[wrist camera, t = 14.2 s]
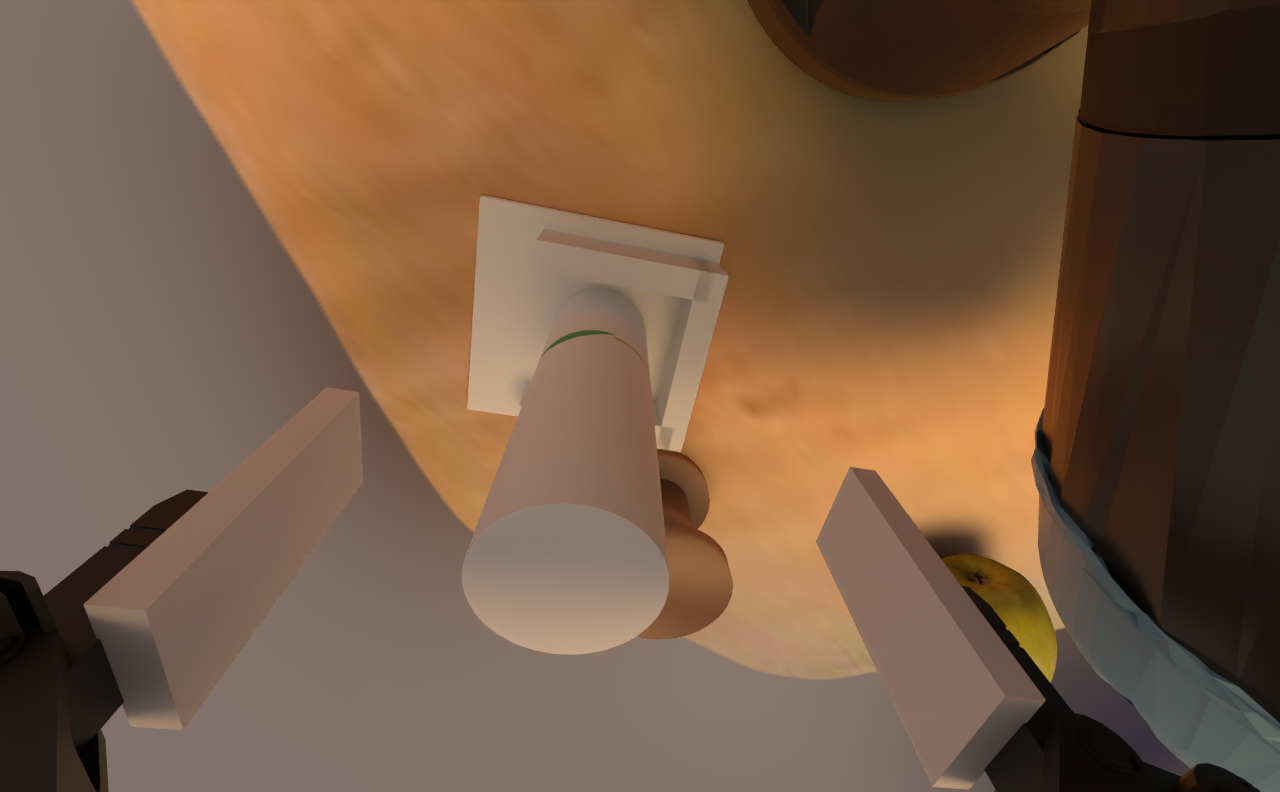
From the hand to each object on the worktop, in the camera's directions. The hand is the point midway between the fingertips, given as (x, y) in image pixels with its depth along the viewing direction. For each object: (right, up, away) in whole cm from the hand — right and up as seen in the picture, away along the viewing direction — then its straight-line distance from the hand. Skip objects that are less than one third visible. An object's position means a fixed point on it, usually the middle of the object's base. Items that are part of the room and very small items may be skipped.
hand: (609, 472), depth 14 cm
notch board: (-2, +5, +10) cm, 12 cm away
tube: (-1, +5, +10) cm, 11 cm away
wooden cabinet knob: (+2, -3, +15) cm, 16 cm away
